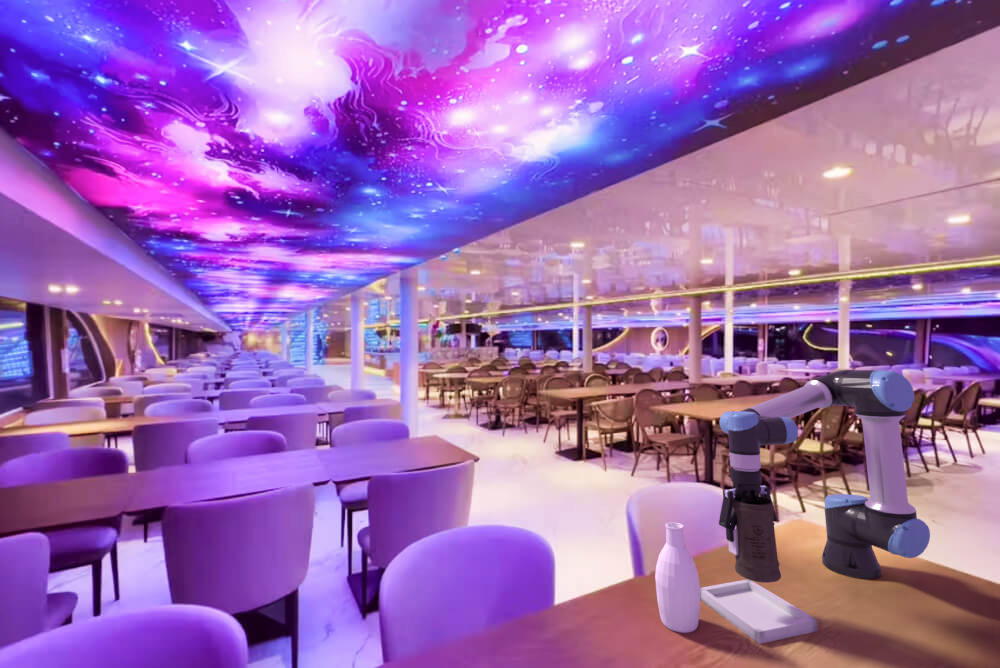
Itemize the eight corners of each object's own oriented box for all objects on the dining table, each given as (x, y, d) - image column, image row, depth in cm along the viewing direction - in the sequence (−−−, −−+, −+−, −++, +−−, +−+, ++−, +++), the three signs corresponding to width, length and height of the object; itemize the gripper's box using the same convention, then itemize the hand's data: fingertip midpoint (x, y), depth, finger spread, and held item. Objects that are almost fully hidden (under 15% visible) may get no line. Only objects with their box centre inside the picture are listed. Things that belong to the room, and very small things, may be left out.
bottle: (681, 641, 111) (676, 536, 112) (647, 618, 120) (643, 522, 122) (711, 627, 116) (706, 527, 117) (676, 607, 126) (672, 515, 127)
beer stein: (790, 585, 113) (782, 503, 116) (745, 583, 115) (737, 503, 117) (764, 561, 128) (757, 489, 131) (724, 560, 130) (718, 489, 132)
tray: (749, 588, 135) (748, 579, 135) (817, 630, 113) (816, 619, 113) (698, 598, 130) (697, 588, 130) (759, 644, 109) (758, 632, 109)
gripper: (767, 462, 130) (771, 540, 129) (701, 468, 125) (705, 550, 123) (789, 467, 123) (794, 550, 122) (721, 474, 118) (725, 561, 116)
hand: (749, 550), depth 123 cm, fingers closed on beer stein, 10 cm apart
